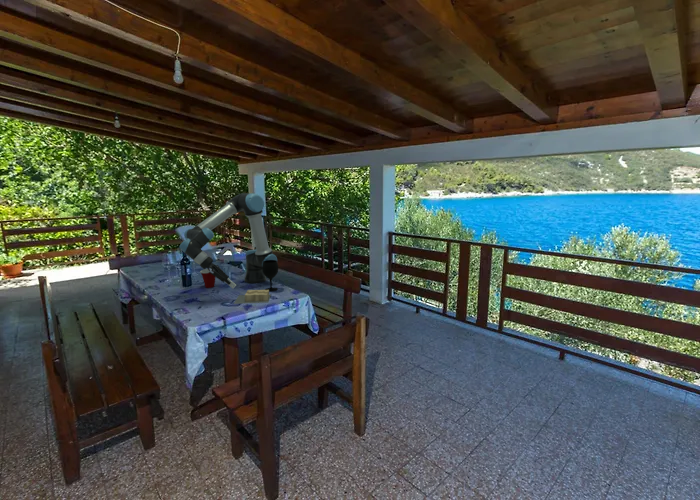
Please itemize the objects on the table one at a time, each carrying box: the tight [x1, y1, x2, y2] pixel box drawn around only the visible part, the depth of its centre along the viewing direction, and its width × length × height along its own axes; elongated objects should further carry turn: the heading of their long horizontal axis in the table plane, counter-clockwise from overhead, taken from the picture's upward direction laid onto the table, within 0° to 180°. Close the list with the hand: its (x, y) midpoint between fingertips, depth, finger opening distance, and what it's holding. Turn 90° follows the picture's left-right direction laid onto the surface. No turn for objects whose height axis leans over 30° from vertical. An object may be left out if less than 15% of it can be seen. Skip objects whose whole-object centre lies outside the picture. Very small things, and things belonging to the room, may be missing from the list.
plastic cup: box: [199, 268, 216, 289], centre depth 237 cm, size 11×11×12 cm
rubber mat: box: [233, 293, 272, 305], centre depth 212 cm, size 16×20×1 cm
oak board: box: [244, 289, 270, 302], centre depth 212 cm, size 10×4×13 cm
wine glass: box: [262, 260, 280, 293], centre depth 229 cm, size 10×10×20 cm
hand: (234, 286), depth 209 cm, fingers closed
